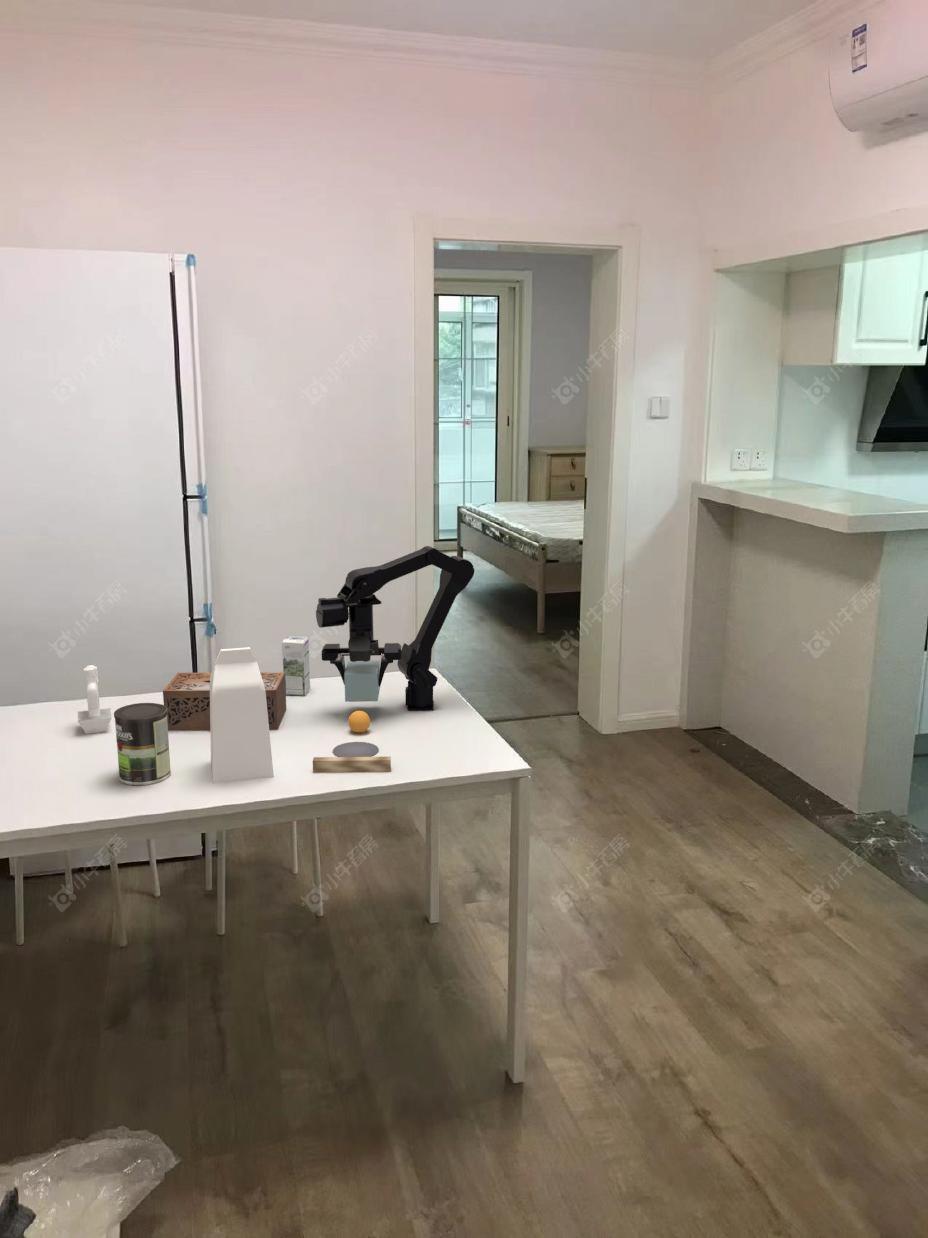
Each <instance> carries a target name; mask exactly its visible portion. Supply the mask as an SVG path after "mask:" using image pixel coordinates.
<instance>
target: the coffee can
mask: <svg viewBox="0 0 928 1238" xmlns="http://www.w3.org/2000/svg"><path fill="white" fill-rule="evenodd" d="M113 717H114V721H115V722H114V724H115V736H116V748H117V750H116V751H117V762H118V763H117V764H118V775H119V776H118V780H119V781H120V782H121V783H123V784H126V785H129V786H147V785H154V784H157V783H160V782H163V781H165V780H167V779H168V778H170V776H171V774H172V771H171V759H170V758H171V757H170V743H169V741H170V740H169V731H168V723H167V707H166V706H164V704H162V703H155V702H138V703H132V704H128V705H124V706H121V707H119V708H117V709H116V710H115V711H114V712H113Z"/></svg>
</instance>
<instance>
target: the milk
mask: <svg viewBox="0 0 928 1238" xmlns="http://www.w3.org/2000/svg"><path fill="white" fill-rule="evenodd" d="M260 672H261V671H260V667H259V664H258V661H257V658H256V656H255V655H254V653H253V650H252V648H251V647H250V646H249V647H235V648H221V649H220V650H219V652H218V655H217V657H216V660H215V662H214V665H213V667H212V670H211V672H210V673H211V676H210V764H211V765H210V766H211V774H212V782H213V784H216V783H217V784H218V783H227V782H236V781H238V782H239V781H247V780H254V779H255V780H256V779H264V778H274V765H273V756H272V755H273V754H272V753H273V752H272V745H271V743H272V742H271V736H270V735H271V734H270V730H269V722H268V712H267V701H266V692H265V687H264V683H263V680H262V677H261V673H260Z"/></svg>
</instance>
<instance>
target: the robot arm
mask: <svg viewBox="0 0 928 1238" xmlns="http://www.w3.org/2000/svg"><path fill="white" fill-rule="evenodd" d="M431 565H432V566H435V567H436V568H437V569H441V570H440V574H439V584H438V585H439V586H438V589H437V592H436V594H435V596H434V598H433V600H432V603H431V604H430V607H429V609H428V611H427V613H426V615H425V617H424V620H423V621H422V624H421V625H420V628H419V630H418V633H417V635H416V637H415V638H414V640H412V642H411V643H409V644H407V643H405V642H404V643H403V645H401V644H400V643H399V642H388V643H387V642H385V643H384V647H382V646H381V647H379V646H380V645H379V639H374V638H375V637H374V636H375V635H374V606H377V605H382V601H381V600H380V599H379V598H378V597H377V596H376V595H375V593H376V592H378V591H380V590H381V589H382V588H383V587H384V586H385V585H386V584H388V583H389V582H392V581H394V580H397V579H400V578H401V577H404V576H406V575H409V574H411V573H414V572H416V571H419V570H421V569H424V568H427V567H428V566H431ZM474 574H475V568H474V565H473V563H472V562H471V561H470V560H468V559H465V558H464V557H461V556H458V555H451V556H449V555H447V554H445V553H443V552H442V551H439V550H438V549H437V548H435V547H433V546H429V545H426V546H425V545H424V546H423V547H422V548H420V549H418V550H416V551H413V552H410V553H408V554H405V555H403V556H400V557H398V558H396V559H393V560H390V561H389V562H386V563H383V564H380V565H376V566H366V567H361V568H356V569H352V570H351V571H349V572H348V573H347V575H346V578H345V581H344V584H343V586H342V587H341V589H340V590H339V592H338V593H337V595H336V597H330V598H325V597H320V598H318V599H317V600H318V603H317V605H316V610H315V618H316V622H317V627H319V628H333V627H339V626H344V625H345V624H347V623H348V628H349V629H348V631H349V633H348V634H349V636H348V637H349V640H348V641H347V643H348V646H347V647H341V645H340V643H325V644H324V645H323V647H322V649H321V661H323V662H328V661H329V663H330V664H331V665H334V666H335V667H336V668H337V671H338V672H339V675H340V677H341V680H342V683H343V685H344V686H345V681H344V673H345V670H346V662H345V661H346V660H345V656H348V657H349V661H352V662H356V661H364V662H367V661H371V656H381V659H380V673H379V686H380V687H381V685H382V682H383V678H384V677H385V676H384V675H385V672H386V670H387V668H388V666H389V664H393V663H394V661H397V662H396V663H397V664H396V665H397V667H398V670H399V671H400V673H401V674H402V675H404V678H405V679H406V680H407V686H405V699H404V700H405V706H407V708H406V709H407V710H408V711H433V710H435V703H434V701H435V700H434V687H435V686H436V685H437V683H438V679H439V678H438V677H437V676H436V675H435V674H434V673H433V672H432V671H430V667H431V664H432V663H431V662H432V652H433V647H434V646H435V642H436V640H437V638H438V636H439V634H440V632H441V630H442V627H443V625H444V624H445V621H446V619H447V616H448V615H449V613H450V611H451V608H452V606H453V604H454V602H455V600H456V598H457V596H458V595H459V594H460V593H461V592H462V591H464V590H465V589H466V588H467V586H468V585H469V583H470V582H471V580H472V579H473V578H474Z"/></svg>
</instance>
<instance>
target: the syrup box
mask: <svg viewBox="0 0 928 1238" xmlns="http://www.w3.org/2000/svg"><path fill="white" fill-rule="evenodd" d="M281 648H282V650H281V651H282V672H285V686H286V696H296V697H297V696H299V697H300V696H303V697H304V696H307V695H308V693H309V692H310V691H311V675H310V673H311V672H310V669H311V668H310V639H309V637H308V636H287V637H285V638H284V639H283V640H282V641H281Z"/></svg>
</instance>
